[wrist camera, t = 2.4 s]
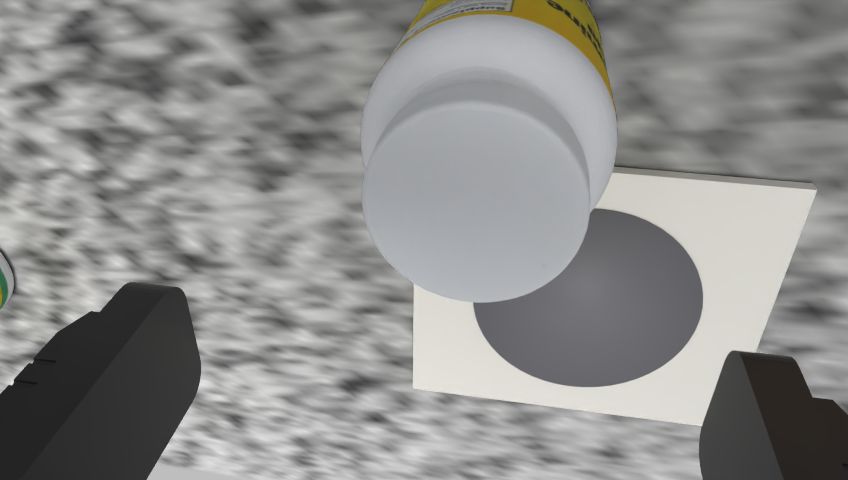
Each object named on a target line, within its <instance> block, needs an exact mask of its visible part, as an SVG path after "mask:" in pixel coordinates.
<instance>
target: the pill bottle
mask: <svg viewBox="0 0 848 480" xmlns="http://www.w3.org/2000/svg"><path fill="white" fill-rule="evenodd" d="M617 135H618V129H617V116H616V109H615V105H614V101H613V97H612V93H611V89H610V82H609V78H608V74H607V70H606V65H605V59H604V53H603V48H602V43H601V36H600V32H599V29H598V25H597V22H596V19H595V16H594V14H593V11H592V9H591V7H590V5H589V3H588V2H587V0H427V1H426V2H425V4H424V5H423V7H422V8H421V10H420V12H419V13H418V15H417V16H416V18H415V19H414V21H413V22H412V24H411V25H410V27H409V28H408V30H407V31H406V33H405V34H404V36H403V37H402V39H401V40H400V42H399V43H398V45H397V46H396V48H395V49H394V51H393V52H392V54H391V55H390V57H389V58H388V60H387V61H386V62H385V64H384V65H383V67H382V69H381V70H380V72H379V73H378V75H377V77H376V79H375V81H374V83H373V85H372V87H371V89H370V92H369V94H368V97H367V100H366V102H365V106H364V110H363V114H362V121H361V133H360V139H361V151H362V158H363V163H364V167H365V173H364V178H363V183H362V209H363V215H364V219H365V223H366V226H367V229H368V231H369V233H370V236H371V238H372V240H373V242H374V243H375V245H376V247H377V248H378V250H379V251H380V252H381V254H382V255H383V256H384V258H385V259H386V260H387V261H388V262H389V263H390V264H391V265H392V266H393V267H394V268H395V269H396V270H397V271H398V272H399V273H400V274H401V275H403V276H404V277H405V278H407V279H408V280H409V281H411V282H413V283H414V284H416V285H418V286H420V287H421V288H423V289H425V290H427V291H429V292H432V293H435V294H437V295H440V296H442V297H445V298H450V299H454V300H459V301H465V302H476V303H486V302H497V301H503V300H509V299H513V298H517V297H520V296H523V295H526V294H528V293H531V292H533V291H535V290H537V289H538V288H540V287H542V286H544V285H546V284H547V283H548V282H550V281H551V280H553V279H554V278H555V277H556V276H558V275H559V274H560V273H561V272H562V271H563V270H564V269H565V268H566V267H567V266H568V264H569V263H570V262H571V261H572V259H573V258H574V256H575V255H576V254H577V252H578V250H579V248H580V246H581V244H582V242H583V240H584V237H585V234H586V231H587V229H588V223H589V217H590V213H591V211H592V210H593V209H594V208H595V206H596V205H597V203H598V202H599V200H600V199H601V197H602V195H603V193H604V191H605V189H606V187H607V185H608V183H609V180H610V178H611V175H612V171H613V168H614V163H615V158H616V151H617Z"/></svg>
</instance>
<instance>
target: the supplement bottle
mask: <svg viewBox="0 0 848 480" xmlns="http://www.w3.org/2000/svg"><path fill="white" fill-rule="evenodd" d="M13 288H14V278H13V274H12V271H11V268H10V266H9V264H8V262H7V261H6V259H5V258H4V256H3V255H2V254H1V252H0V309H1V308H2V307H3V306H4V305H5V304H6V303H7V302H8V300H9V299H10V297H11V295H12V292H13Z"/></svg>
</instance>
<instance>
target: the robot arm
mask: <svg viewBox="0 0 848 480" xmlns="http://www.w3.org/2000/svg"><path fill="white" fill-rule="evenodd" d="M200 376H201V361H200V356H199V352H198V347H197V343H196V338H195V334H194V330H193V325H192V321H191V317H190V312H189V308H188V303H187V299H186V296H185V294H184V292H183V291H182V289H180V288H178V287H172V286H163V285H154V284H145V283H136V282H130V283H127V284H125V285H124V286H123V287H122V288H121V289H120V290H119V291H118V292H117V293H116V294H115V295H114V296H113V298H112V299H111V300H110V301H109V302H108V303H107V304H106V306H105V307H104V308H103V309H102V310H101V311H100V312H93V311H91V312H89V313H87V314H86V315H84V316H83V317H81V318H79V319H78V320H76V321H75V322H73V323H71V324H70V325H68V326H67V327H65V328H63V329H62V330H60V331H59V332H57V333H56V335H55V336H54V337H53V338H52V339H51V340H50V341H49V342H48V343H47V344H46V345H45V346H44V347H43V349H42V350H41V351H40V352H39V353H38V354H37V355H36V356H35V357H34V362H33V363H32V364H31V363H29V364H28V365H27V366H26V367H25V368H24V369H23V370H22V371H21V372H20V373H19V375H18V376H17V377H16V378H15V379H14V384H13V385H12V386H11V385H8V386H7V387H6V389H5V390H4V391H3V392H2V393H1V394H0V480H146V479H147V478H148V476H149V474H150V473H151V471H152V469H153V468H154V466H155V464H156V463H157V461H158V459H159V457H160V456H161V454H162V452H163V451H164V449H165V447H166V446H167V444H168V442H169V441H170V439H171V437H172V436H173V434H174V432H175V431H176V429H177V427H178V425H179V424H180V422H181V420H182V419H183V417H184V415H185V414H186V412H187V410H188V409H189V407H190V405H191V404H192V402H193V400H194V398H195V395H196V393H197V390H198V386H199V382H200ZM699 458H700V467H701V473H702V477H703V480H848V415H847V414H846V413H845V412H844V411H843V410H842V409H841V408H840V407H839V406H838V405H837V404H836V403H835V402H834V401H833V400H829V399H820V398H812V395H811V393H810V391H809V388H808V386H807V384H806V382H805V379H804V377H803V375H802V373H801V370H800V368H799V366H798V364H797V362H796V361H795V360H794V359H793V358H792V357H789V356H781V355H772V354H763V353H754V352H745V351H736V350H733V351H731V352H730V353H729V354H728V355H727V357H726V359H725V361H724V364H723V367H722V370H721V373H720V376H719V378H718V381H717V384H716V387H715V390H714V393H713V396H712V398H711V401H710V404H709V407H708V410H707V413H706V416H705V418H704V421H703V425H702V428H701V434H700V443H699Z"/></svg>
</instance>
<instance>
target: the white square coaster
mask: <svg viewBox="0 0 848 480" xmlns="http://www.w3.org/2000/svg"><path fill="white" fill-rule="evenodd" d="M816 192H817V189H816V188H815V186H814V185H813V183H803V182H791V181H779V180H767V179H756V178H744V177H732V176H720V175H708V174H696V173H684V172H673V171H661V170H649V169H637V168H625V167H614V168H613V171H612V175H611V178H610V180H609V183H608V185H607V187H606V189H605V191H604V193H603V195H602V197H601V199H600V200H599V202H598V203H597V205H596V206H595V208H594V209H593V210H592V211H591V213H590V217H589V223H588V229H587V231H586V234H585V237H584V240H583V242H582V244H581V246H580V248H579V250H578V252H577V254H576V255H575V256H574V258H573V259H572V261H571V262H570V263H569V264H568V266H567V267H566V268H565V269H564V270H563V271H562V272H561V273H560V274H559V275H558V276H556V277H555V278H554V279H553V280H551V281H550V282H548V283H547V284H546V285H544V286H542V287H540V288H538V289H537V290H535V291H533V292H531V293H528V294H526V295H523V296H520V297H517V298H513V299H509V300H503V301H497V302H486V303H476V302H465V301H459V300H454V299H450V298H445V297H442V296H440V295H437V294H435V293H432V292H429V291H427V290H425V289H423V288H421V287H420V286H418V285H416V284H414V315H413V389H420V390H428V391H435V392H443V393H451V394H459V395H466V396H474V397H482V398H489V399H497V400H505V401H512V402H520V403H528V404H535V405H543V406H551V407H558V408H566V409H574V410H581V411H589V412H597V413H605V414H612V415H620V416H628V417H635V418H643V419H651V420H658V421H666V422H674V423H681V424H689V425H697V426H702V425H703V421H704V418H705V416H706V413H707V410H708V407H709V404H710V401H711V398H712V396H713V393H714V390H715V387H716V384H717V381H718V378H719V376H720V373H721V370H722V367H723V364H724V361H725V359H726V357H727V355H728V354H729V353H730V352H731V351H733V350H736V351H745V352H754V353H755V352H756V350H757V347H758V344H759V342H760V339H761V337H762V334H763V331H764V329H765V326H766V323H767V321H768V318H769V316H770V313H771V310H772V308H773V305H774V302H775V300H776V297H777V295H778V292H779V289H780V287H781V284H782V281H783V279H784V276H785V274H786V271H787V268H788V266H789V263H790V260H791V258H792V255H793V253H794V250H795V247H796V245H797V242H798V239H799V237H800V234H801V232H802V229H803V226H804V224H805V221H806V218H807V216H808V213H809V211H810V208H811V205H812V203H813V200H814V197H815V195H816Z"/></svg>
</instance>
